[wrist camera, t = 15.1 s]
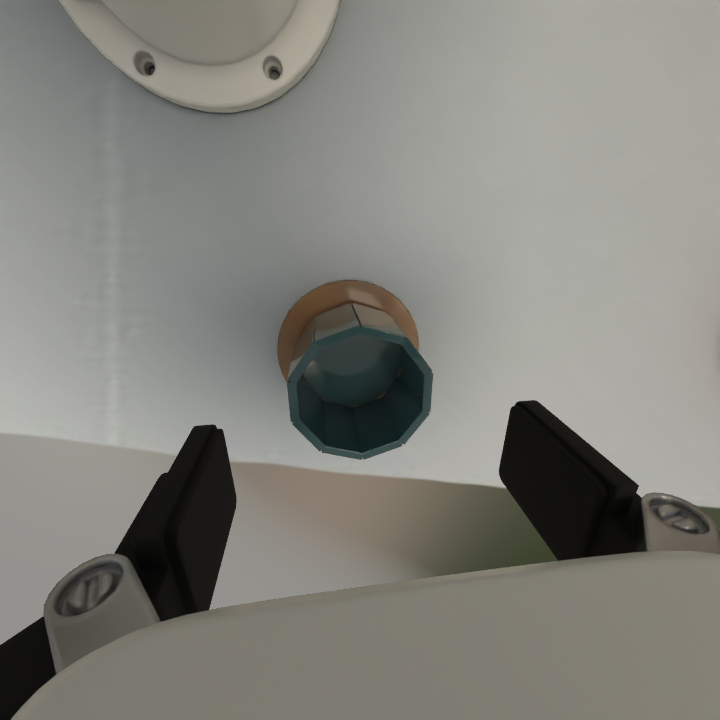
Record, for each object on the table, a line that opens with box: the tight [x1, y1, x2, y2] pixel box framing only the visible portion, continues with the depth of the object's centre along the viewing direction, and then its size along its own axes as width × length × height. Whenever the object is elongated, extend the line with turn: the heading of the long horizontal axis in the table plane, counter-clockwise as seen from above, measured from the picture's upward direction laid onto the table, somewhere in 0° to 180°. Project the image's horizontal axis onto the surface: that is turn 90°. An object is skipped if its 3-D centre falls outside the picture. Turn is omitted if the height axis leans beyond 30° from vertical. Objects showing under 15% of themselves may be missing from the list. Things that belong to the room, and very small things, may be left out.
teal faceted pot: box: [287, 303, 433, 460], centre depth 19 cm, size 7×7×6 cm
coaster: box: [278, 280, 418, 407], centre depth 22 cm, size 9×9×1 cm
